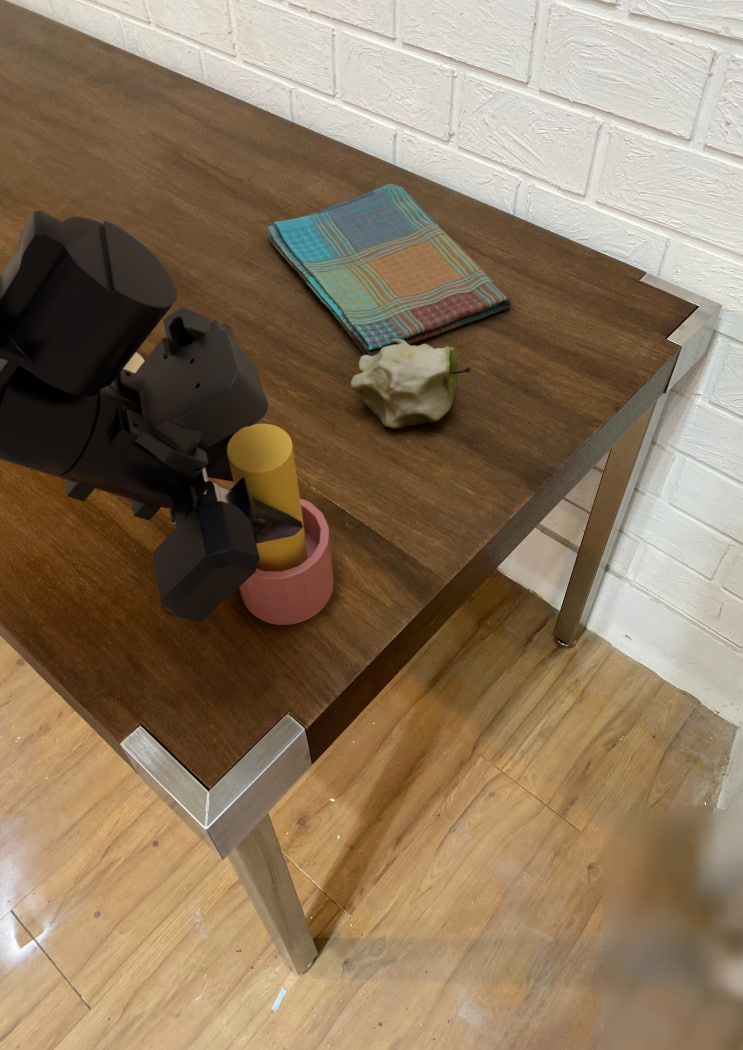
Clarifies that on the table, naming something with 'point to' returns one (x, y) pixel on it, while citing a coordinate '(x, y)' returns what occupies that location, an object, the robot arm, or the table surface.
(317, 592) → the pot
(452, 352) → the fruit
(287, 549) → the yellow cylinder
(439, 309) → the dish towel
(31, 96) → the table surface
